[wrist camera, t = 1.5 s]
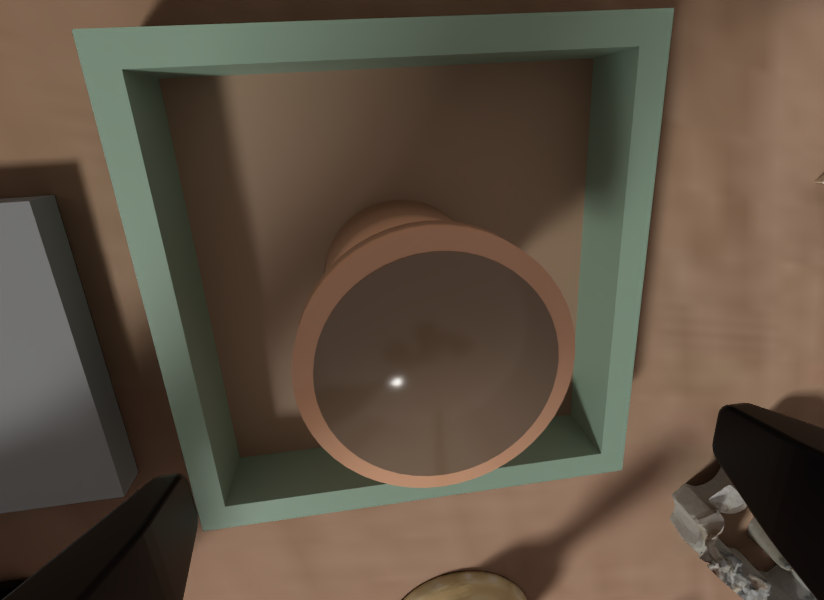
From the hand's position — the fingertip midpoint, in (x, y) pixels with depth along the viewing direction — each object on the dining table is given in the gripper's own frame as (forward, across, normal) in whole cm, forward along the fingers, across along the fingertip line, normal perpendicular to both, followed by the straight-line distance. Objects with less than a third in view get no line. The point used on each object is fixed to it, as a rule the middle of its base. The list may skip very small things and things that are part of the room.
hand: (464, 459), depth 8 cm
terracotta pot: (+12, 0, +1) cm, 12 cm away
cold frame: (+12, 0, +1) cm, 13 cm away
